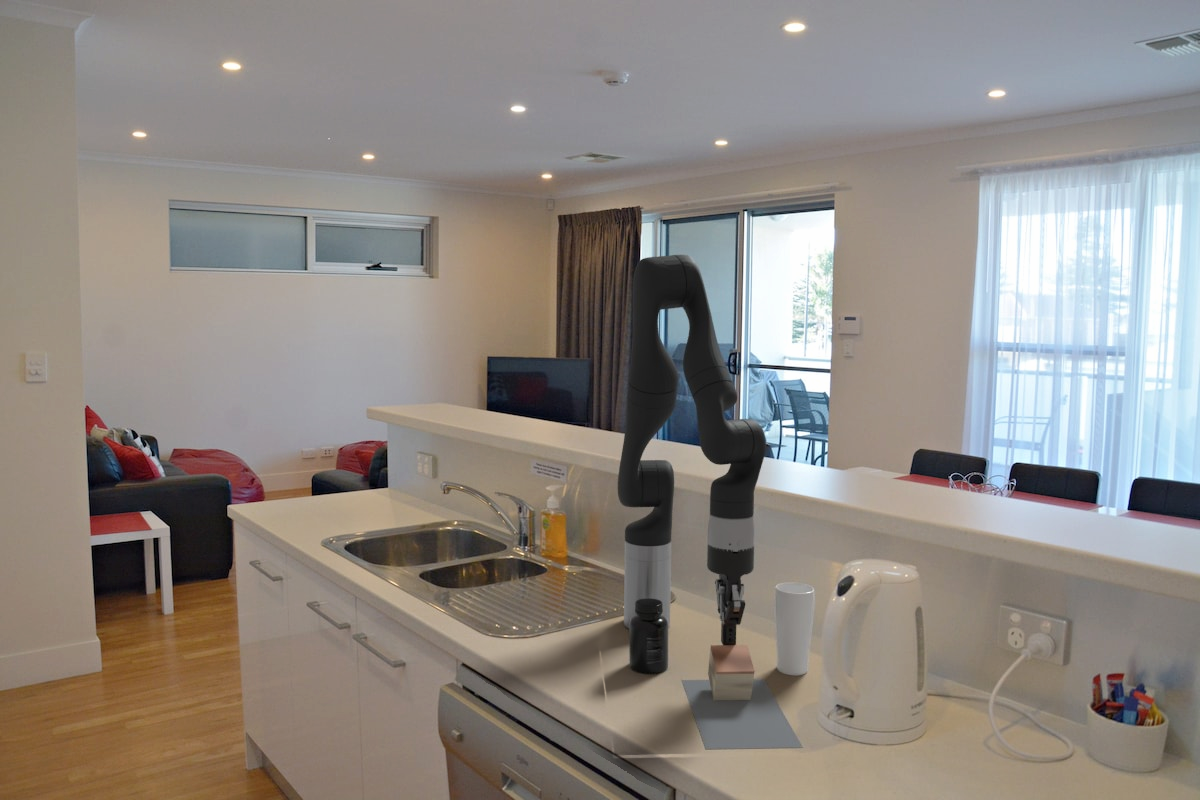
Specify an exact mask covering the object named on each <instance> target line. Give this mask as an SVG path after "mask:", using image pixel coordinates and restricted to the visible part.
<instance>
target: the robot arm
mask: <svg viewBox="0 0 1200 800" xmlns="http://www.w3.org/2000/svg"><path fill="white" fill-rule="evenodd" d="M632 281H633V282H632V340H631V341H632V342H631V353H630V363H629V372H628V381H627V392H626V408H625V412H626V413H625V426H624V427H625V428H624V429H625V430H624V437H623V443H622V449H621V455H620V456H621V457H620V463H619V467H618V468H619V470H618V476H617V496H618V500H619V502H620V504H621V505H622V506H624V507H626V508H653V509H652V511H650V512H649V514H647V515H646V516H644V517H641V518H640V519H637V520H635V521H632V522H631V523H629V524H627V525H626V527H625V529H624V585H623V588H624V589H623V590H624V592H623V594H624V595H623V599H624V600H623V625H624V627H626V628H627V629H629V624H630V620H631V618H632V617H633V616H635V615H636V613H635V602H636V601H637V600H639V599H645V598H651V599H658V600H660V601H662V603H663V613H662V614H661V615H663V616H664V617H665V618H666V619H667V621H668V628H669V627H670V626H671V593H672V591H671V588H672V587H671V586H672V585H671V583H672V582H671V580H672V577H671V575H672V528H673V509H674V508H673V505H674V494H675V472H674V469H673V466H672V464H671V462H669V461H668V460H665V459H663V460H662V459H654V460H653V459H647V460H645V459H644V460H643V459H642V456H643V455H644V452H645V450H646V448H647V446H648V444H649V443H650V442H651V440H652V439H653V438H654V437H655V435H656V434H658V432H659V431H661V429H662V427H664V425H665V424H666V423H667V422H668V421H669V419H670V417H671V416H672V414H673V412H674V411H675V409H676V404H677V397H678V390H679V387H678V386H679V372H678V369H677V367H676V364H675V362H674V360H673V358H672V357H671V354H670V353H669V352H668V350H667V348H666V347H665V344H664V343H663V341H662V339H661V336H660V333H659V315H660V314H659V313H660V311H661V310H669V309H679V308H682V309H683V310H684V312H685V314H686V317H687V321H688V325H689V330H688V336H687V342H686V345H685V350H684V354H683V360H682V368H683V369H682V370H683V374H684V377H685V382H686V384H687V386H688V389H689V392H690V394H691V396H692V399H693V402H694V404H695V410H696V418H697V419H696V421H697V427H698V439H699V446H700V449H701V451H702V453H703V455H704V456H705V458H706V459H707V460H708V461H709V462H711V463H713V464H714V465H719V466H720V465H721V466H722V465H729V469H728V470H727V472H726V473H725V474H723V475H721V476H719V477H717V478H716V479H714V480H713V481H712V483H711V485H710V492H709V493H710V495H709V496H710V497H709V519H708V526H707V551H706V553H707V555H706V556H707V558H706V563H707V564H706V567H707V569H708V570H709V572H711V573H713V574H716V575H718V578H716V579H715V581H714V585H715V591H716V604H717V612H718V614H720V615H719V620H720V622H721V623H720V624H721V627H720V628H721V629H720V642H721V645H737V626H740V625H741V623H742V619H743V617H744V612H745V607H746V601H745V600H743V596H744V594H745V585H744V583H742V580H741V579H742V577H743V576H745V575H746V576H747V575H749V574H751V573H752V572H753V571H754V569H755V567H754V565H755V534H756V533H755V532H756V531H755V529H756V528H755V519H754V507H755V506H754V505H755V501H754V500H755V489H756V485H757V483H758V479H759V476H760V473H761V471H762V470H761V469H762V467H763V462H764V459H765V455H766V450H767V440H766V435H765V432H764V429H763V428H762V426H761V425H760V423H759V422H758V421H756V420H754V419H750V418H740V419H738V418H737V419H728V420H727V419H726V417H725V412H727V411H729V410H730V409H731V408H733V407H734V406H735V405H736V404H737V401H738V393H737V390H736V387H735V384H734V381H733V380H732V378H731V375H730V373H729V370H728V368H727V365H726V363H725V360H724V357H723V355H722V352H721V349H720V346H719V343H718V340H717V334H716V330H715V326H714V321H713V317H712V312H711V309H710V304H709V300H708V295H707V291H706V287H705V284H704V280H703V277H702V273H701V270H700V268H699V266H698V264H697V262H696V261H695V259H694V258H693V257H691V256H690V255H688V254H672V255H661V256H649V257H645V258H642V259H640V260H639V261H638V262H637V264H636V266H635V268H634V273H633V279H632Z"/></svg>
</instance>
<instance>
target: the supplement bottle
mask: <svg viewBox="0 0 1200 800" xmlns="http://www.w3.org/2000/svg"><path fill="white" fill-rule="evenodd" d="M635 613H636V615H635V616H633V617H632V618H631V620H630V624H629V628H628V629H629V636H628V637H629V641H628V642H629V643H628V644H629V653H628V655H629V656H628V657H629V659H628V660H629V668H630V670H632V671H633V672H635V673H637V674H640V675H641V674H642V675H658V674H662V673H664V672H666V671H667V670H668V668H669V627H668V621H667V619H666V618H665V617H664V616H663V615H661V614H662V613H663V603H662V601H660V600H658V599H651V598H645V599H639V600H637V601H636V602H635Z"/></svg>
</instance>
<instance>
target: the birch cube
mask: <svg viewBox="0 0 1200 800" xmlns="http://www.w3.org/2000/svg"><path fill="white" fill-rule="evenodd" d="M708 659H709V661H708V667H707V668H708V670H707V676H708V680H709V681H710V685H711V690H712V695H713V700H751V694H752V687H753V679H755V678H754V677H755V672H756V671H755V668H754V663H753V661H752V660H753V659H752V656H751V653H750V650H749V646H748V645H747V644H736V645H723V644H719V645H717V644H716V645H715V644H714V645H713V644H712V645H710V650H709V658H708Z"/></svg>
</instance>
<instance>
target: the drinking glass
mask: <svg viewBox="0 0 1200 800" xmlns="http://www.w3.org/2000/svg"><path fill="white" fill-rule="evenodd" d="M774 587H775V588H774V604H773V606H774V608H773V610H774V611H773V612H774V625H775V626H774V627H775V630H774V631H775V641H776V669H777V671H778V672H780V673H782V674H784V675H789V676H803V675H805V674H807V673H808V670H809V658H810V648H811V641H812V640H811V639H812V633H813V626H814V624H813V623H814V615H815V588H814V587H813V586H811V585H809V584H806V583H801V582H793V581H791V582H790V581H789V582H788V581H787V582H780V583H778V584H776V585H775V586H774Z"/></svg>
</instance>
